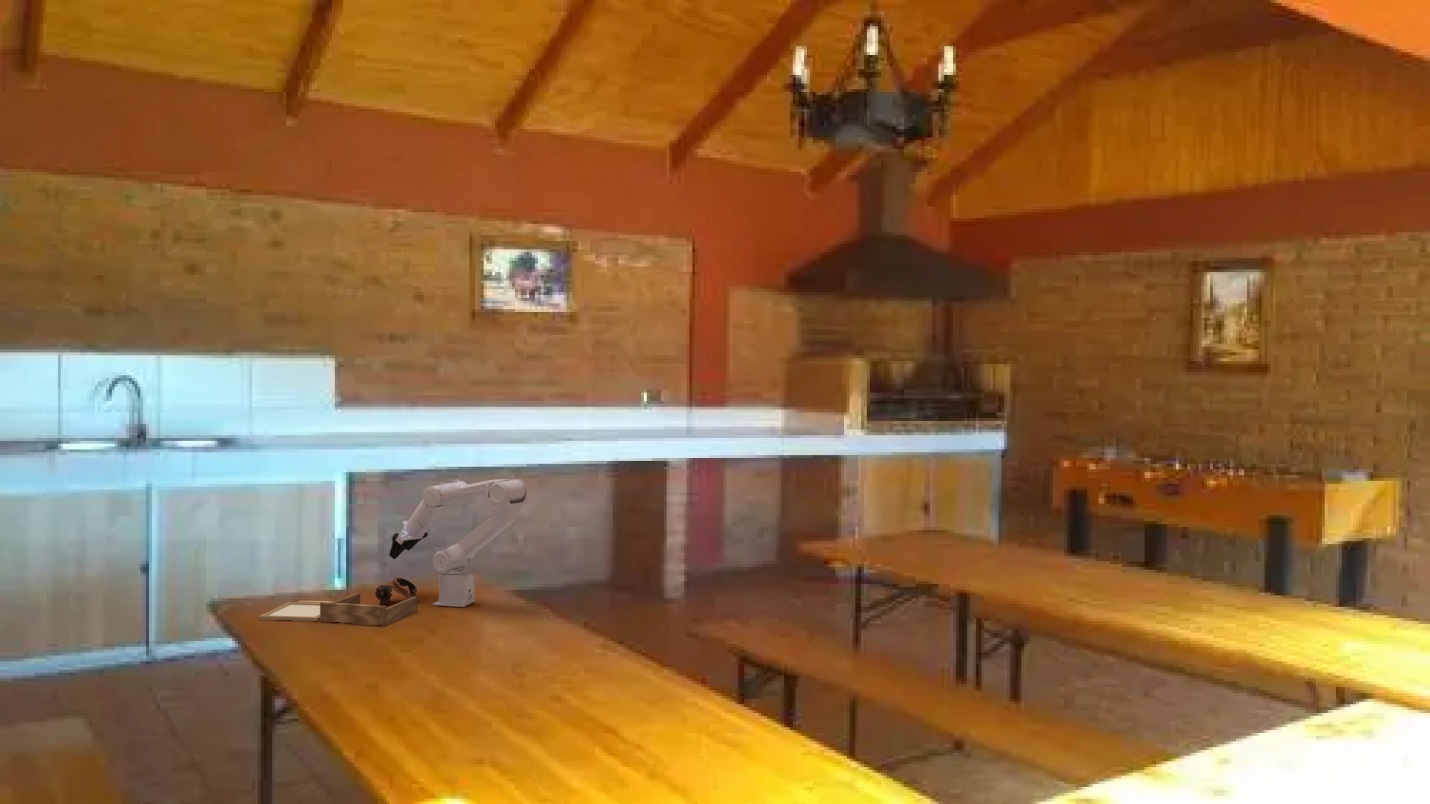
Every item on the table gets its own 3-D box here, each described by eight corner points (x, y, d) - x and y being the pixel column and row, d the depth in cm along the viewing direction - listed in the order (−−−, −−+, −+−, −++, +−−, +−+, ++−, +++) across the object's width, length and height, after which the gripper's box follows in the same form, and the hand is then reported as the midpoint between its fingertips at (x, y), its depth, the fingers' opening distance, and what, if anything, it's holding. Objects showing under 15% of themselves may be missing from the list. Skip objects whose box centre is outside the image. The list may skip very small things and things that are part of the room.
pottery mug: (394, 600, 323) (408, 576, 323) (411, 619, 318) (426, 594, 317) (362, 596, 313) (376, 572, 313) (380, 616, 308) (394, 591, 307)
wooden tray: (417, 611, 307) (417, 593, 307) (384, 626, 290) (384, 607, 290) (356, 607, 311) (356, 589, 311) (320, 621, 294) (320, 602, 294)
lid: (348, 605, 314) (348, 601, 314) (317, 621, 294) (317, 618, 294) (293, 603, 315) (293, 600, 315) (258, 620, 295) (258, 616, 295)
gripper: (424, 502, 329) (402, 536, 333) (397, 517, 315) (375, 551, 319) (442, 518, 328) (420, 551, 332) (416, 533, 314) (393, 567, 319)
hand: (399, 552), depth 326 cm, fingers open, 7 cm apart
